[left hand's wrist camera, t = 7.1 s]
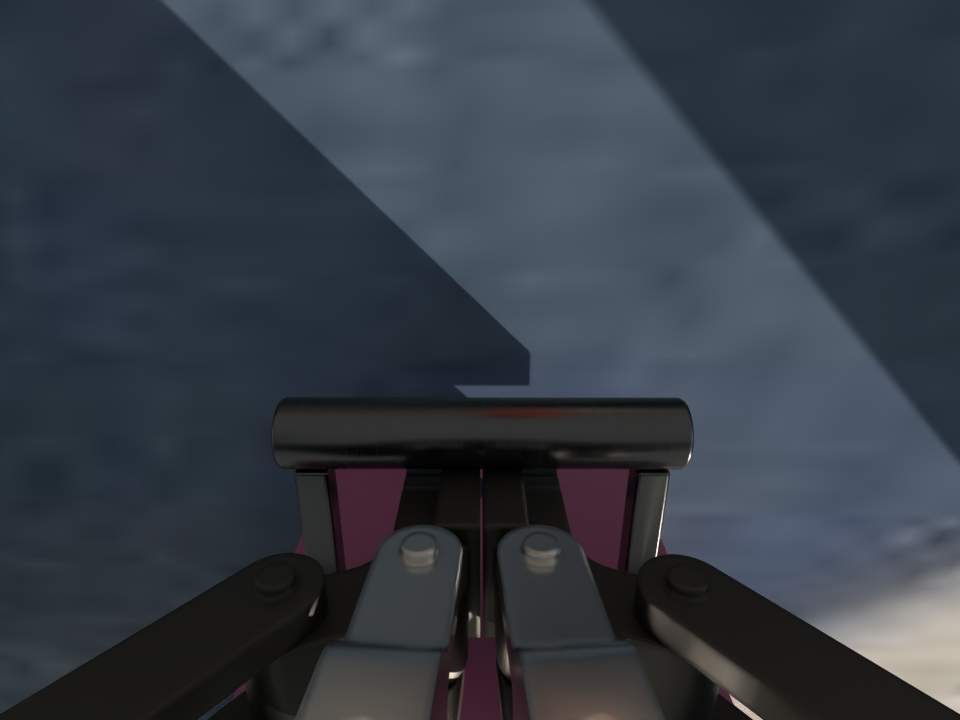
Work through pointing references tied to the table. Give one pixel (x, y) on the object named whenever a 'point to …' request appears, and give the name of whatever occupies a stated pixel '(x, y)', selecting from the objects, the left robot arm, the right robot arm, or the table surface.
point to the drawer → (482, 445)
